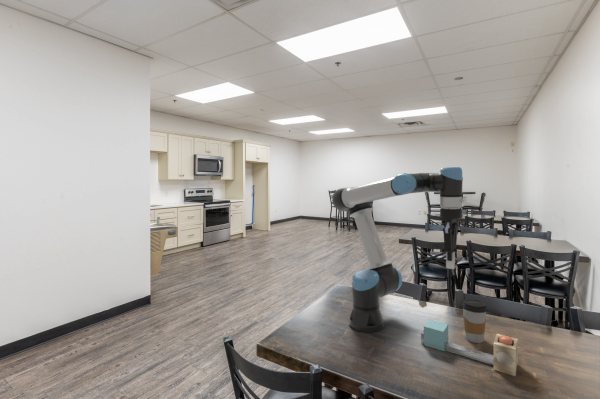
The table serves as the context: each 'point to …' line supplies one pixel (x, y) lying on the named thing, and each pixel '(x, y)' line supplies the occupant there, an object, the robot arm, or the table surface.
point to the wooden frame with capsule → (505, 356)
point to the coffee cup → (474, 320)
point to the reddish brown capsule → (505, 340)
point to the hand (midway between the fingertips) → (450, 268)
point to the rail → (466, 352)
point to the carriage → (435, 334)
